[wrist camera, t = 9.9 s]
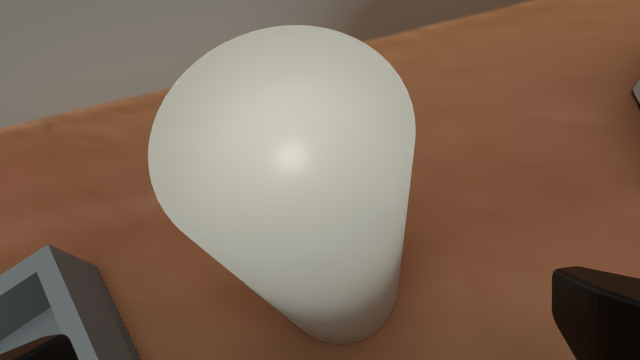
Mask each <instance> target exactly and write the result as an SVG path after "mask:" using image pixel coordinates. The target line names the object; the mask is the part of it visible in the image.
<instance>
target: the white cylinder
mask: <svg viewBox="0 0 640 360" xmlns="http://www.w3.org/2000/svg"><path fill="white" fill-rule="evenodd" d="M415 136H416V134H415V117H414V112H413V106H412V103H411V100H410V97H409V94H408V91H407V89H406V87H405V85H404V84H403V82H402V80H401V78H400V76H399V75H398V74H397V72H396V71H395V70H394V68H393V67H392V66H391V65H390V64H389V63H388V62H387V61H386V60H385V59H384V58H383V57H382V56H381V55H380V54H379V53H378V52H376V51H375V50H374V49H372V48H371V47H370V46H368V45H367V44H365V43H363V42H361V41H360V40H358V39H356V38H353V37H351V36H349V35H346V34H344V33H341V32H338V31H334V30H331V29H326V28H321V27H315V26H304V25H289V26H278V27H271V28H265V29H261V30H257V31H253V32H249V33H247V34H244V35H241V36H238V37H236V38H234V39H231V40H229V41H227V42H225V43H223V44H221V45H220V46H218V47H216V48H215V49H213V50H211V51H210V52H208V53H207V54H205V55H204V56H203V57H201V58H200V59H199V60H197V61H196V62H195V63H194V64H193V65H192V66H191V67H190V68H188V70H186V71H185V72H184V73H183V74H182V76H181V77H180V78H179V79H178V80H177V81H176V82H175V84H174V85H173V86H172V88H171V89H170V91H169V92H168V94H167V95H166V97H165V98H164V100H163V102H162V104H161V106H160V108H159V110H158V112H157V115H156V118H155V120H154V123H153V126H152V130H151V135H150V139H149V149H148V164H149V173H150V178H151V183H152V186H153V189H154V191H155V194H156V197H157V199H158V201H159V203H160V205H161V206H162V208H163V210H164V212H165V213H166V214H167V216H168V217H169V218H170V219H171V221H172V222H173V223H174V224H175V225H176V226H177V227H178V228H179V229H180V230H181V231H182V232H183V233H184V234H185V235H186V236H188V237H189V238H190V239H191V240H192V241H194V242H195V243H196V244H197V245H199V246H200V247H201V248H202V249H203V250H205V251H206V252H207V253H208V254H210V255H211V256H212V257H213V258H214V259H216V260H217V261H218V262H219V263H221V264H222V265H223V266H224V267H225V268H227V269H228V270H229V271H230V272H232V273H233V274H234V275H235V276H236V277H238V278H239V279H240V280H241V281H243V282H244V283H245V284H246V285H247V286H249V287H250V288H251V289H252V290H254V291H255V292H256V293H257V294H258V295H260V296H261V297H262V298H263V299H265V300H266V301H267V302H268V303H269V304H271V305H272V306H273V307H274V308H276V309H277V310H278V311H279V312H280V313H282V314H283V315H284V316H285V317H287V318H288V319H289V320H290V321H291V322H293V323H294V324H295V325H296V326H298V327H299V328H300V329H301V330H302V331H304V332H305V333H306V334H308V335H309V336H311V337H313V338H315V339H317V340H319V341H322V342H325V343H330V344H350V343H355V342H358V341H361V340H363V339H365V338H367V337H369V336H371V335H372V334H374V333H375V332H376V331H378V330H379V329H380V328H381V327H382V326H383V325H384V323H385V322H386V321H387V320H388V318H389V316H390V315H391V313H392V311H393V309H394V306H395V303H396V299H397V294H398V285H399V277H400V268H401V259H402V250H403V241H404V233H405V224H406V215H407V206H408V197H409V189H410V180H411V171H412V162H413V153H414V145H415Z"/></svg>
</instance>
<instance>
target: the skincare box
mask: <svg viewBox="0 0 640 360" xmlns="http://www.w3.org/2000/svg"><path fill="white" fill-rule="evenodd" d="M633 92H634V95H635V96H636V98H637V100H638V102H639V104H640V79H639V81H638V82H637V84H636V85H635V86H634V88H633Z"/></svg>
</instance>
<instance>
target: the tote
mask: <svg viewBox="0 0 640 360" xmlns="http://www.w3.org/2000/svg"><path fill="white" fill-rule="evenodd" d="M57 334H64V335H66V336H68V337H69V338H70V340H71V342H72V345H73V347H74V350H75V352H76V354H77V357H78V359H79V360H140V358H139V356H138V353H137V351H136V349H135V347H134V345H133V343H132V341H131V339H130V337H129V335H128V332H127V330H126V328H125V326H124V324H123V322H122V320H121V318H120V316H119V314H118V312H117V309H116V307H115V305H114V303H113V301H112V299H111V297H110V295H109V293H108V291H107V288H106V286H105V284H104V282H103V280H102V278H101V276H100V274H99V272H98V270H97V268H96V266H94V265H92V264H90V263H88V262H86V261H83V260H81V259H79V258H77V257H75V256H73V255H70V254H68V253H66V252H64V251H62V250H59V249H57V248H55V247H53V246H51V245H46V246H45V247H43V248H41V249H40V250H38V251H37V252H35V253H34V254H32V255H31V256H29V257H28V258H26V259H25V260H23V261H21V262H20V263H18V264H17V265H15V266H14V267H12V268H11V269H9V270H8V271H6V272H5V273H3V274H2V275H0V354H2V353H4V352H7V351H9V350H12V349H14V348H17V347H19V346H22V345H24V344H26V343H29V342H31V341H34V340H36V339H39V338H41V337H44V336H50V335H57Z"/></svg>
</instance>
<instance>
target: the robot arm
mask: <svg viewBox="0 0 640 360" xmlns="http://www.w3.org/2000/svg"><path fill="white" fill-rule="evenodd" d="M552 313H553V317H554V320H555V323H556V325H557V327H558V328H559V330H560V332H561V334H562V335H563V337H564V339H565V340H566V342H567V344H568V346H569V347H570V349H571V351H572V353H573V354H574V356H575V358H576V359H577V360H640V279H638V278H633V277H628V276H623V275H619V274H614V273H609V272H604V271H599V270H594V269H589V268H584V267H579V266H578V267H577V266H574V267H566V268H559V269H556V270H555V271H554V272H553V275H552ZM0 360H79V359H78V357H77V354H76V352H75V350H74V347H73V345H72V342H71V340H70V338H69V337H68V336H66V335H64V334H57V335H50V336H44V337H41V338H39V339H36V340H34V341H31V342H29V343H26V344H24V345H22V346H19V347H17V348H14V349H12V350H9V351H7V352H4V353H2V354H0Z"/></svg>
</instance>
